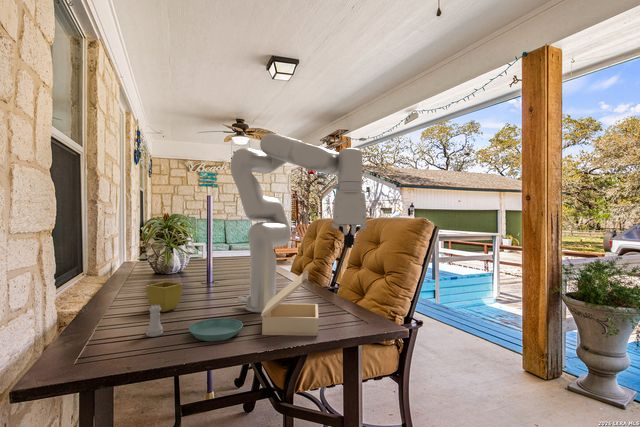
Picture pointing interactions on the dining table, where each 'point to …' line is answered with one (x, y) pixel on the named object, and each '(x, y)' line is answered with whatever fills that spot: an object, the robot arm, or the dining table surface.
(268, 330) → the cream open box
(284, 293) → the box lid
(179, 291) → the flower pot
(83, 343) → the dining table surface
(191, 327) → the saucer
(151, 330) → the rook chess piece
